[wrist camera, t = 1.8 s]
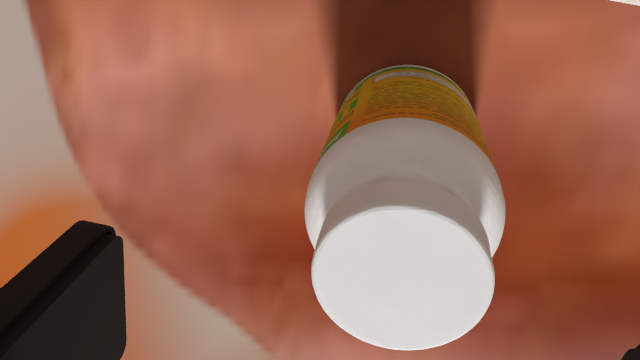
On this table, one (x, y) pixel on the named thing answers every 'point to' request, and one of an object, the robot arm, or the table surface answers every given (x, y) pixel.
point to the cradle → (629, 1)
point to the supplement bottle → (405, 212)
